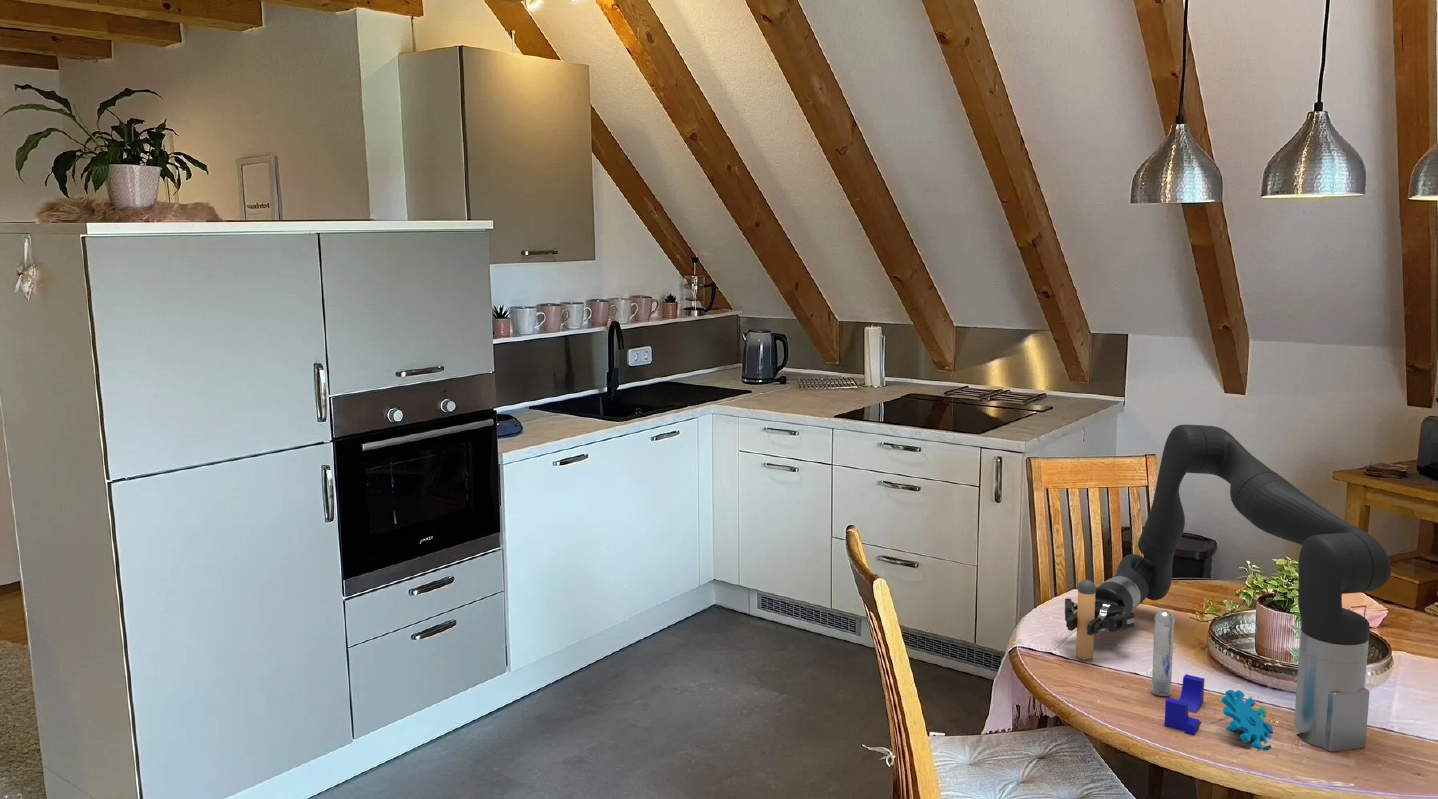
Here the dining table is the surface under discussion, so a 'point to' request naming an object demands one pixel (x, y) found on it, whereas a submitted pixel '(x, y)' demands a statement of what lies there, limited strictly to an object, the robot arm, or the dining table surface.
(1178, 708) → the cable clip
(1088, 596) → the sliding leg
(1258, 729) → the gear
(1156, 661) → the fixed leg
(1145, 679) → the dining table surface
